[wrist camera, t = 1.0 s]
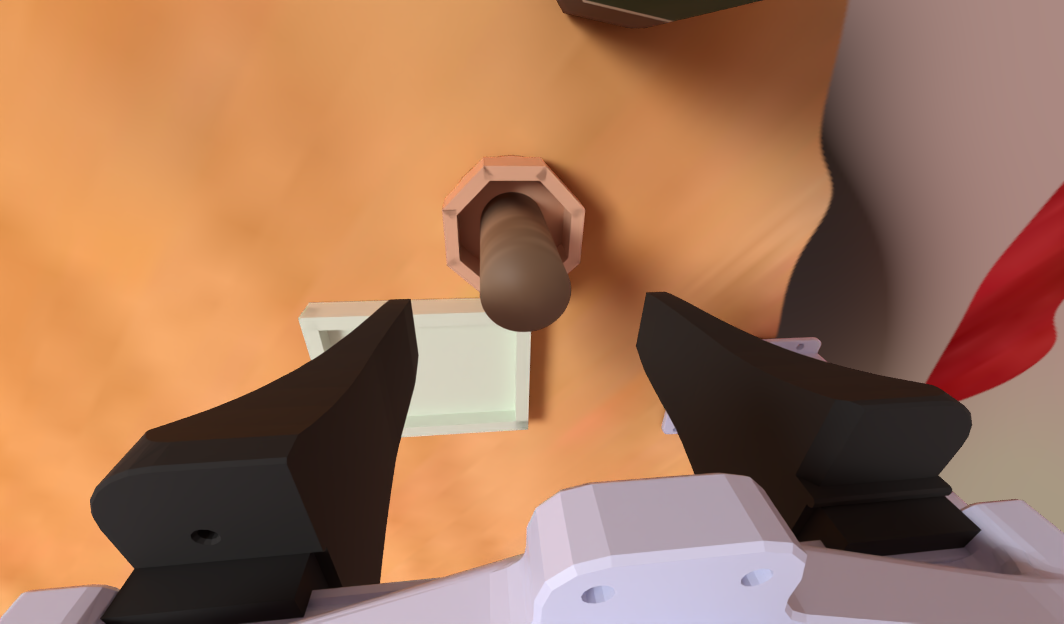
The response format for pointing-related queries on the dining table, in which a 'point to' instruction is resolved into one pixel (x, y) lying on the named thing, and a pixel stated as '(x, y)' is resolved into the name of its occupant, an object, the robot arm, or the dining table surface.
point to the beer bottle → (644, 10)
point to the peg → (520, 265)
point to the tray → (445, 363)
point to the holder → (500, 178)
